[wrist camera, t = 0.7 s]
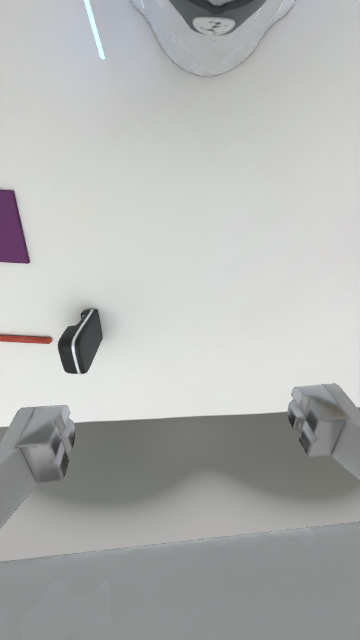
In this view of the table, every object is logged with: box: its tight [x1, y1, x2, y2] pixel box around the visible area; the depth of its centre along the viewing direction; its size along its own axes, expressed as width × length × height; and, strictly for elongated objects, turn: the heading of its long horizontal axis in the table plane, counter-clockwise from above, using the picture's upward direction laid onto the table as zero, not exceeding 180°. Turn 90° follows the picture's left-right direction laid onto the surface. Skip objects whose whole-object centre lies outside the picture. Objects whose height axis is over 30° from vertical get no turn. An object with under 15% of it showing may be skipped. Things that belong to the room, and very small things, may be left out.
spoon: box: [0, 335, 52, 344], centre depth 54 cm, size 5×19×1 cm, turn 87°
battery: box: [58, 309, 103, 374], centre depth 48 cm, size 7×4×11 cm, turn 1°
